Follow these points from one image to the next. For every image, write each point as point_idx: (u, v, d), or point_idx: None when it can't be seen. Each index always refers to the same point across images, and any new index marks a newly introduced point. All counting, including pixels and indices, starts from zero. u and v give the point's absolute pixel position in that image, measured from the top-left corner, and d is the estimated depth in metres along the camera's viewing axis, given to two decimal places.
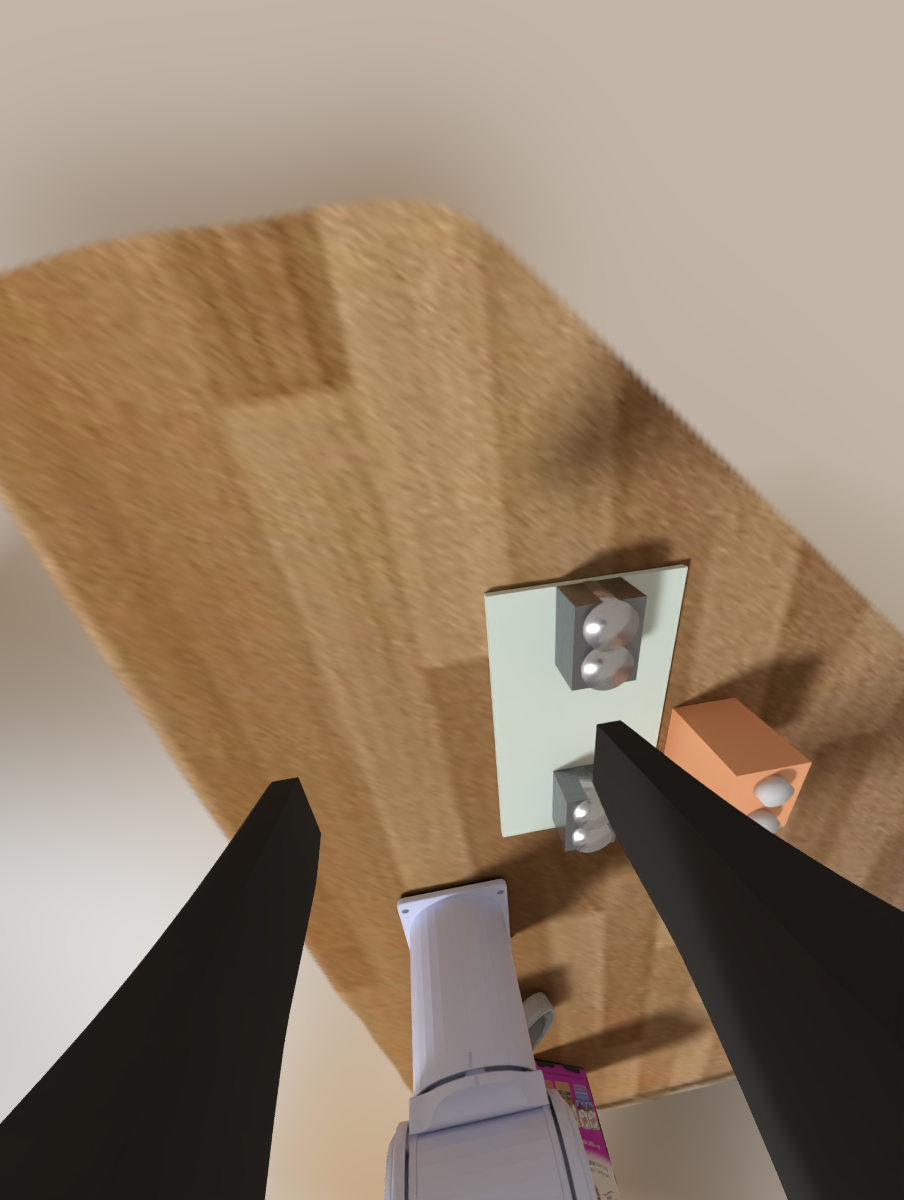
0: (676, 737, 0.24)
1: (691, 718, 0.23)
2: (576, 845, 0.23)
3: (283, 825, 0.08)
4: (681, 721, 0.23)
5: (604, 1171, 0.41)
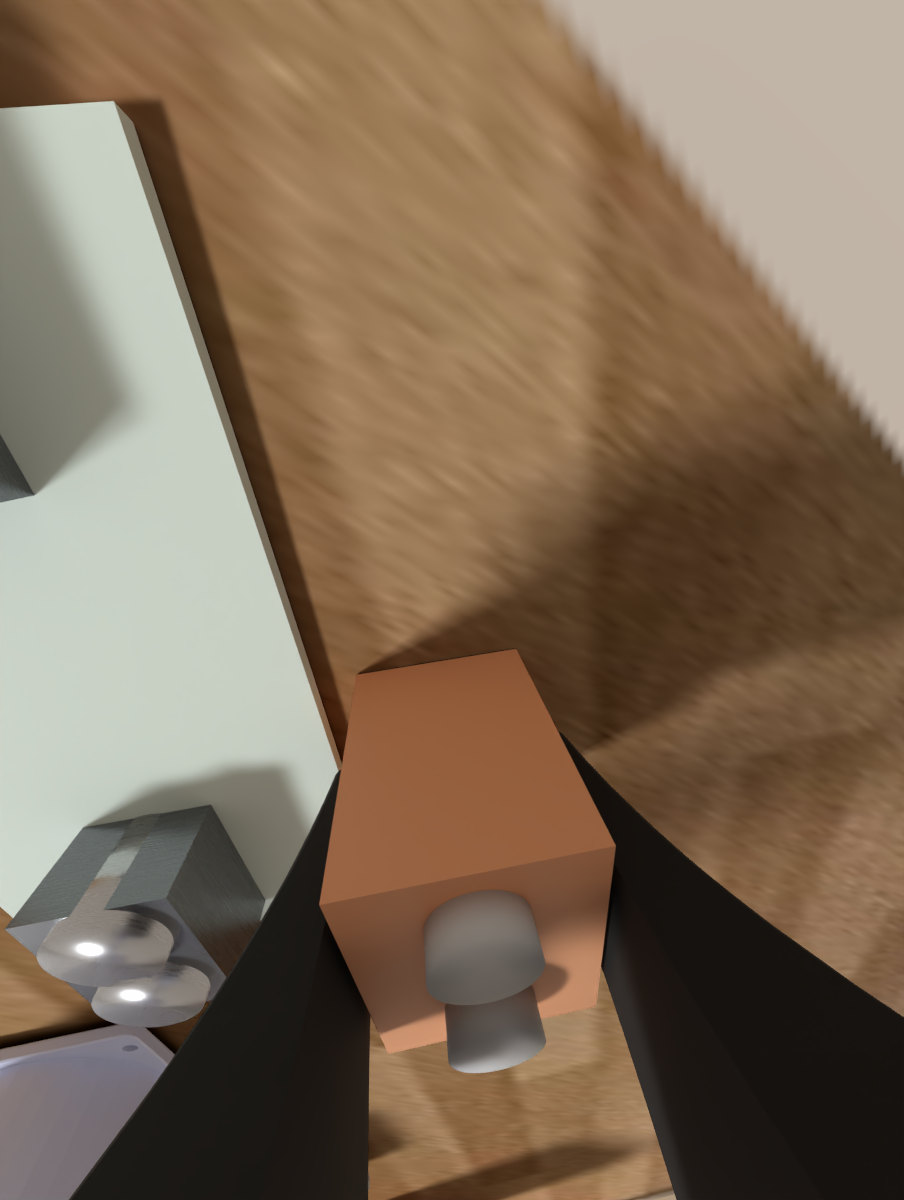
0: None
1: (373, 699, 0.09)
2: (109, 1017, 0.09)
3: None
4: None
5: None
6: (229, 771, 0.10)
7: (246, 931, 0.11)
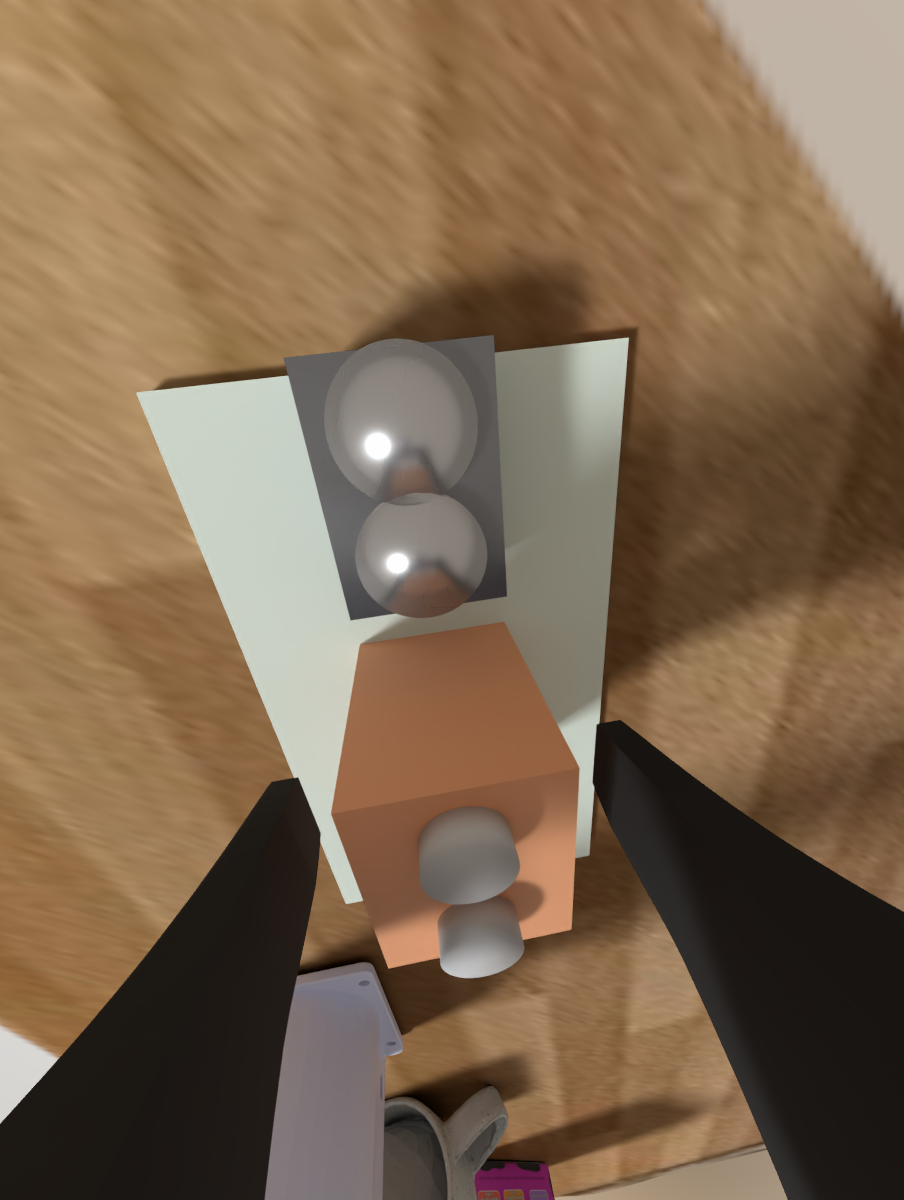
0: None
1: (375, 663, 0.10)
2: None
3: (283, 825, 0.08)
4: None
5: None
6: None
7: None
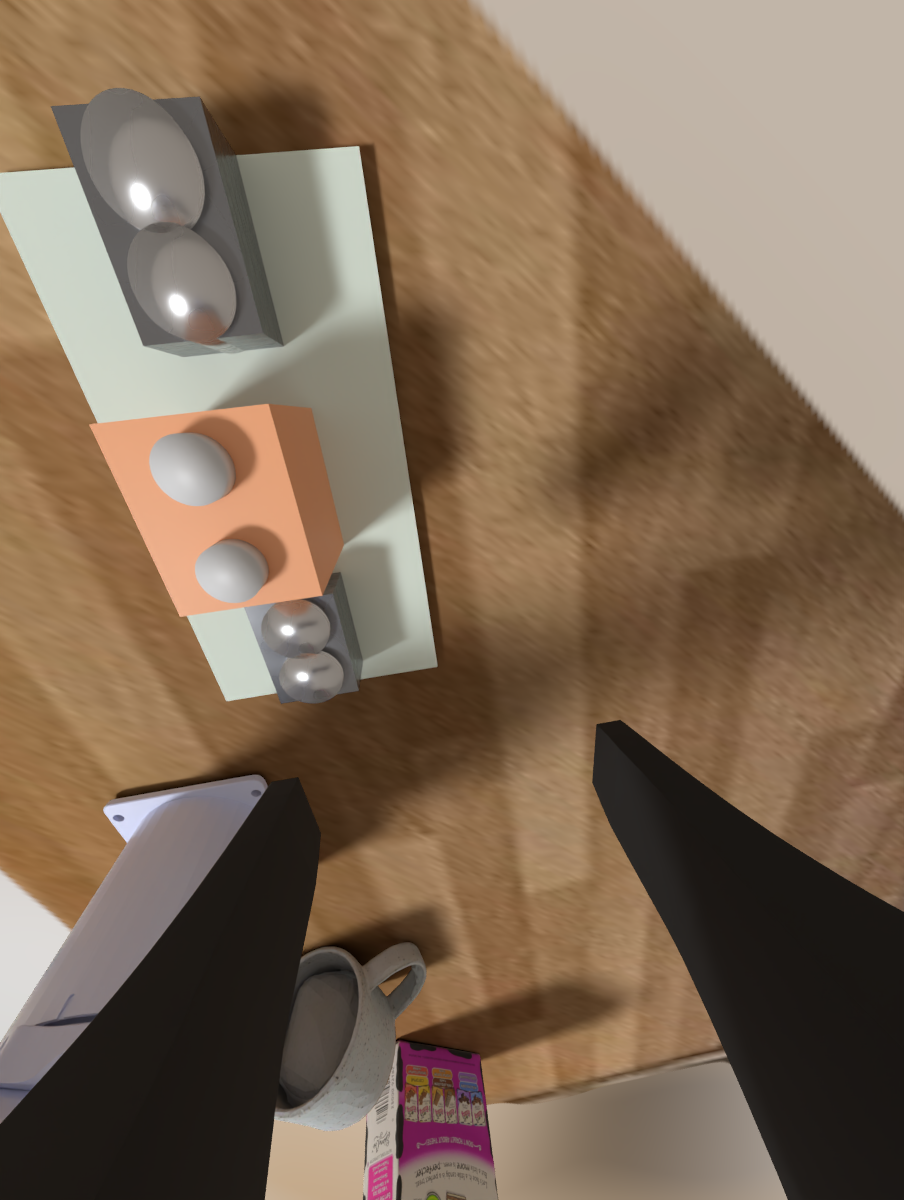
0: None
1: None
2: (286, 688, 0.15)
3: (284, 825, 0.08)
4: None
5: (481, 1177, 0.33)
6: (355, 546, 0.16)
7: (358, 663, 0.17)
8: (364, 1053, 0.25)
